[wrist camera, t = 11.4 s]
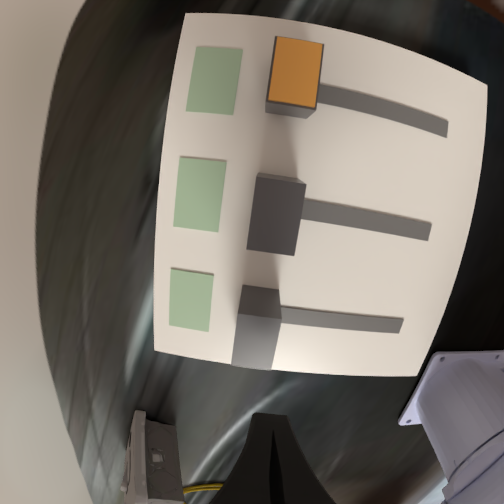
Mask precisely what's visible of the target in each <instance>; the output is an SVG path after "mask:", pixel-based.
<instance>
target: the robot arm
mask: <svg viewBox="0 0 504 504" xmlns="http://www.w3.org/2000/svg"><path fill="white" fill-rule="evenodd" d="M398 423H399V425H411V424H421V423H422V425H423V427H424V429H425V431H426V433H427V435H428V437H429V440H430V442H431V444H432V446H433V448H434V451H435V453H436V455H437V457H438V459H439V462H440V464H441V466H442V469H443V471H444V473H445V475H446V478H447V480H448V484H447V485H446V486H445V487H444V488H443V489H442V492H443V494H444V497H445V500H444V501H443V502H442V503H441V504H504V350H496V351H464V352H436V353H434V354H433V355H432V356H431V358H430V361H429V363H428V365H427V367H426V369H425V371H424V373H423V375H422V377H421V379H420V381H419V383H418V385H417V387H416V389H415V391H414V393H413V395H412V396H411V398H410V400H409V402H408V404H407V406H406V407H405V409H404V411H403V413H402V414H401V416H400V418H399V419H398ZM209 504H336V503H335V502H334V500H333V499H332V498H331V497H330V495H329V494H328V493H327V492H326V490H325V489H324V487H323V486H322V485H321V483H320V482H319V480H318V479H317V477H316V476H315V474H314V472H313V471H312V469H311V467H310V465H309V464H308V462H307V460H306V458H305V456H304V454H303V452H302V450H301V448H300V446H299V444H298V441H297V439H296V437H295V434H294V432H293V429H292V426H291V423H290V420H289V418H288V416H286V415H275V414H265V413H257V412H256V413H254V414H253V415H252V419H251V423H250V427H249V431H248V435H247V439H246V443H245V445H244V448H243V450H242V453H241V455H240V457H239V458H238V460H237V462H236V464H235V466H234V468H233V470H232V471H231V473H230V475H229V476H228V478H227V479H226V481H225V482H224V484H223V485H222V487H221V488H220V490H219V491H218V492H217V494H216V495H215V496H214V498H213V499H212V500H211V502H210V503H209Z"/></svg>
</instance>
